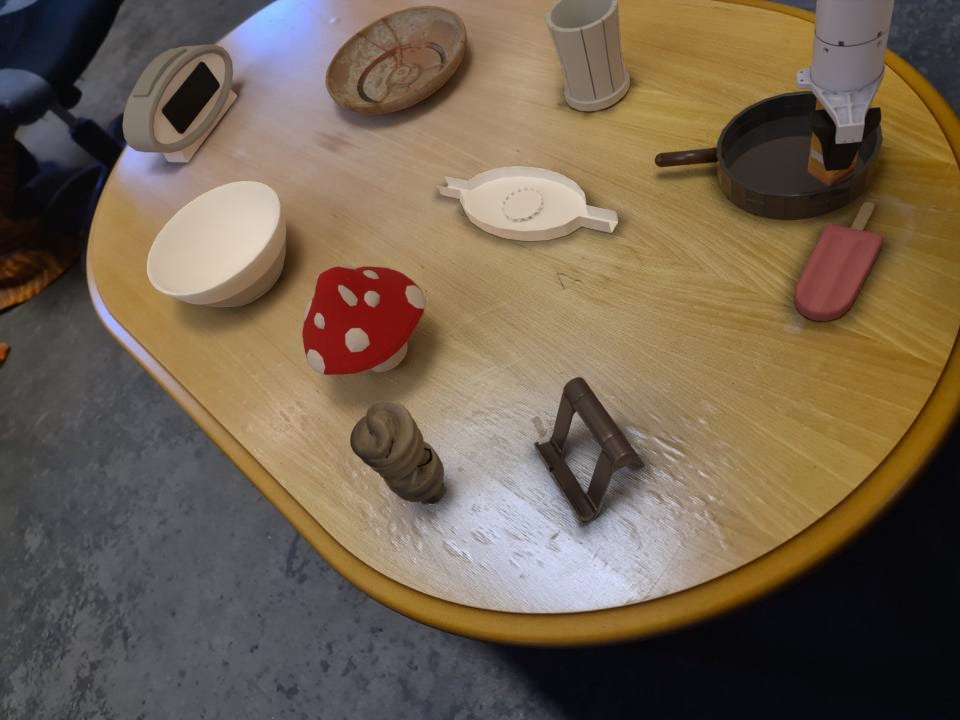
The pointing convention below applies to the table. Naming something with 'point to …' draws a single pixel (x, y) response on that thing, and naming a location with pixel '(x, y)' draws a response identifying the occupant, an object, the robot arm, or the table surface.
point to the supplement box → (817, 162)
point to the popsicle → (837, 268)
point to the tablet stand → (606, 434)
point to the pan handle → (687, 157)
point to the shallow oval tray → (527, 204)
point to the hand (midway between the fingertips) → (835, 150)
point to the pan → (785, 161)
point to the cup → (589, 52)
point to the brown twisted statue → (399, 453)
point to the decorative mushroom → (360, 319)
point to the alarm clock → (179, 101)
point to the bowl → (221, 247)
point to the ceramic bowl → (397, 60)
